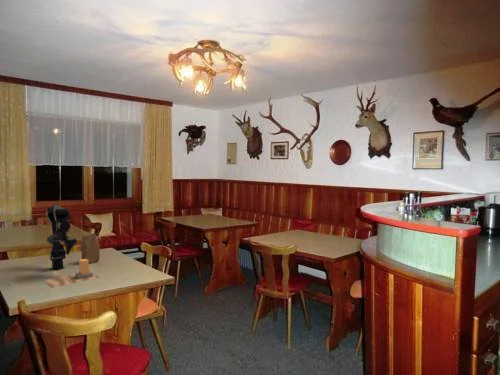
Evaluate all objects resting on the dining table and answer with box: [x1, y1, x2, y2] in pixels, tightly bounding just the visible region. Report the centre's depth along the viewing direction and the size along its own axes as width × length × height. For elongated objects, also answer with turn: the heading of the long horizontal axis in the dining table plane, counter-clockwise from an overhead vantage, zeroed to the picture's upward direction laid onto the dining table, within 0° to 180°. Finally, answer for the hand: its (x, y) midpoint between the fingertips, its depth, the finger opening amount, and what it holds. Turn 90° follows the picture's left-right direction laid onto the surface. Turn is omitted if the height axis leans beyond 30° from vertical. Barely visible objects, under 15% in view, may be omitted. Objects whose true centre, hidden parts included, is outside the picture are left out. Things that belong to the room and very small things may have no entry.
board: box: [43, 273, 101, 289], centre depth 208 cm, size 26×16×1 cm, turn 134°
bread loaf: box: [81, 232, 101, 265], centre depth 246 cm, size 11×8×20 cm
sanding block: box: [74, 258, 94, 279], centre depth 212 cm, size 8×7×10 cm
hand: (62, 253), depth 218 cm, fingers open, 9 cm apart
